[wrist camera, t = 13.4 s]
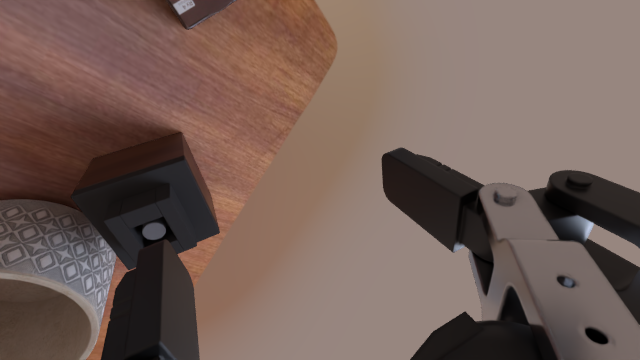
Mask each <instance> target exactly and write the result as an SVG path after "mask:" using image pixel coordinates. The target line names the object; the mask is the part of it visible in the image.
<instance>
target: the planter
mask: <svg viewBox="0 0 640 360" xmlns="http://www.w3.org/2000/svg"><path fill="white" fill-rule="evenodd" d="M115 261H116V254H115V252H114V251H113V250H112V249H111V247H110V246H109V245H108V244H107V242H106V241H105V240H104V239H103V237H102V236H101V235H100V233H99V232H98V231H97V230H96V228H95V227H94V226H93V225H92V223H91V222H90V221H89V220H88V218H87V217H86V216H85V215H84V213H82V212H80V211H78V210H76V209H74V208H71V207H68V206H64V205H61V204H57V203H52V202H48V201H40V200H31V199H11V200H1V201H0V360H85V359H86V358H87V357H88V355H89V354H90V353H91V351H92V350H93V348H94V346H95V344H96V341H97V339H98V334H99V330H100V326H101V321H102V317H103V313H104V309H105V304H106V300H107V296H108V292H109V287H110V283H111V279H112V275H113V270H114V266H115Z"/></svg>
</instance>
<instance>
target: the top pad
mask: <svg viewBox="0 0 640 360" xmlns="http://www.w3.org/2000/svg"><path fill="white" fill-rule="evenodd" d="M163 216H164V218H165V220H166V221H167V223H168V225H169V226H168V227H166V233H165V235H164V236H163V237H161V238H159V239H156V240H150V239H147V238H145V237H144V236H143V234H142V226H141V225H142V224H144V223H147V222H150V221H152V220H155V219H158V218H160V217H163ZM103 222H104V223H105V224H106V226H107V227H108V228H109V230H110V231H111V232H112V234H113V235H114V236H115V237H116V239H117V240H118V241H119V243H120V244H121V245H122V247H123V248H124V249H125V251H126V252H127V253H128V255H129V256H130V257H131V259H132V260H133V261H134V263H135V264H136V265H137V259H138V252H139V250H140V249H142V248H145V247H147V246H150V245H152V244H155V243H157V242H160V241H162V240H165V239H166V240H168V241H169V242H170V244H171V245H172V247H173V249H174V250H175V252H176V253H177V254H179V253H181V252H184V251H186V250H189V249H191V248H194V247H196V246H197V242H196V233H195V229H194V227H193V225H192V223H191V221H190V219H189V217H188V216H187V214H186V212H185V210H184V208H183V206H182V205H181V203H180V201H179V199H178V197H177V195H176V193H175V192H174V190H173V188H172V186H171V184H170V183H169V184H166V185H163V186H160V187H157V189H156V188H154V189H152V190H149V191H146V192H143V193H140V194H137V195H134V196H131V197H128V198H125V199H124V200H123V199H122V200H119V201H116V202H113V203H111V204H109V206H108V208H107V211H106V214H105V217H104V220H103Z"/></svg>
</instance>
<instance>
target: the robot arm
mask: <svg viewBox="0 0 640 360" xmlns="http://www.w3.org/2000/svg"><path fill="white" fill-rule="evenodd" d="M382 175H383V188H384V192H385V195H386V197H387V198H388V200H389V201H390V202H391V203H393V204H394V205H395V206H396V207H398V208H399V209H400V210H401V211H402V212H404V213H405V214H406V215H408V216H409V217H410V218H411V219H412V220H414V221H415V222H416V223H417V224H419V225H420V226H421V227H422V228H423V229H425V230H426V231H427V232H428V233H430V234H431V235H432V236H433V237H434V238H436V239H437V240H438V241H439V242H441V243H442V244H443V245H444V246H446V247H447V248H448V249H449V250H451V251H452V252H455V251H457V250H459V249H461V248H463V247H464V246H466V247H467V248H468V249H469V260H470V263H471V267H472V271H473V275H474V278H475V283H476V286H477V290H478V294H479V298H480V302H481V308H482V321H477V322H475V321H474V320H473V319H472V318H471V317H470V316H469V315H468V314H467V313H466V312H463V313H462V314H460V315H459V316H457V317H456V318H454V319H452V320H451V321H449V322H448V323H446V324H444V325H443V326H441V327H440V328H438V329H437V330H435V331H433V332H432V333H431V335H430V336H429V337H428V338H427V340H426V341H425V342H424V343H423V345H422V346H421V347H420V348H419V349H418V351H417V352H416V353H415V354H414V356H413V357H412V358H411V359H410V360H640V267H638V266H636V265H634V264H633V263H631V262H629V261H627V260H625V259H624V258H622V257H620V256H618V255H616V254H615V253H613V252H611V251H609V250H607V249H606V248H604V247H602V246H600V245H598V244H596V243H595V242H593V241H591V240H589V239H588V236H589V234H590V231H591V229H592V227H593V225H594V224H596V225H598V226H600V227H602V228H604V229H606V230H608V231H610V232H612V233H614V234H616V235H618V236H620V237H622V238H624V239H625V240H627V241H629V242H631V243H633V244H635V245H636V246H638V247H639V248H640V193H639V192H637V191H634V190H631V189H629V188H626V187H623V186H621V185H618V184H616V183H613V182H611V181H608V180H606V179H603V178H600V177H598V176H595V175H592V174H589V173H585V172H581V171H572V170H565V171H558V172H555V173H553V174H552V175H551V176H550V178H549V181H548V184H547V187H546V188H540V189H535V190H529V191H526V190H525V189H523V188H521V187H518V186H515V185H512V184H507V183H492V184H488V185H486V186H484V185H483V184H481V183H479V182H476V181H475V180H473V179H471V178H469V177H467V176H465V175H463V174H461V173H459V172H457V171H455V170H453V169H452V170H451V168H450V167H448V166H446V165H442V164H441V163H440V162H438V161H436V160H434V159H432V158H430V157H426V156H421V155H415V154H414V153H412V152H410V151H408V150H406V149H404V148H398V149H396V150H393V151H390V152H388V153H385V154H384V155H383V156H382ZM110 319H111V321H109V324H108V328H107V333H106V338H105V343H104V347H103V352H102V357H101V360H200V359H199V347H198V335H197V322H196V310H195V299H194V288H193V283H192V280H191V277H190V275H189V273H188V271H187V269H186V268H185V266H184V265H183V263H182V261H181V260H180V258H179V257H178V255H177V253H176V252H175V250H174V249H173V247H172V245H171V244H170V242H169V241H168V240H166V239H165V240H162V241H160V242H157V243H155V244H152V245H150V246H147V247H145V248H142V249H140V250H139V252H138V259H137V266H136V269H134V270H131V271H129V272H126V274H125V275H124V277H123V278H122V280H121V282H120V283H119V285H118V286H117V288H116V290H115V295H114V300H113V307H112V309H111V314H110Z"/></svg>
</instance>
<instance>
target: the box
mask: <svg viewBox="0 0 640 360" xmlns="http://www.w3.org/2000/svg"><path fill="white" fill-rule="evenodd" d="M166 1H167V3H168V4H169V6H170V7H171V8H172V10H173V11H174V13H175V14H176V16H177V17H178V19H179V20H180V21H181V23H182V24H183V26H184V27H185V29H187V30H189V29H191V28H193V27H195V26H196V25H198V24H200V23H201V22H203V21H205V20H206V19H208V18H210V17H211V16H213V15H214V14H216V13H218V12H220V11H222V10H223V9H224V8H226V7H227V6H229V5H230V4H232V3H233V2H235V1H236V0H166Z"/></svg>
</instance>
